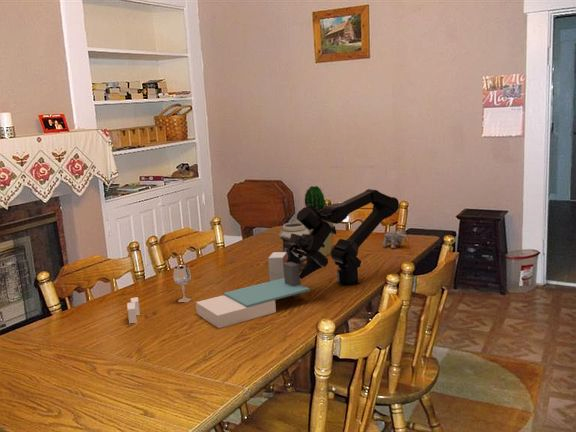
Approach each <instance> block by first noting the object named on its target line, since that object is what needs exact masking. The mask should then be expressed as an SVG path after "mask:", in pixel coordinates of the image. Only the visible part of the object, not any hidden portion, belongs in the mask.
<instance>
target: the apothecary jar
mask: <svg viewBox="0 0 576 432" xmlns="http://www.w3.org/2000/svg"><path fill="white" fill-rule="evenodd" d="M291 233H293V234H296V235H300V236H302V235H303V234H308V235H309V231H308V230H307V229H306V228H305V226H304V225H303V224H302V223H301V222H298V221H297V222H296V221H294V222H287V223H284V224H283V225H282V230H280V232H279V234H278V236H279V238H280V240H282V251H281V252H286V249H285V247H286V245H287V244H288V243H290V242H289V240H290V237H291ZM292 243H293V242H292ZM293 244H294V243H293ZM296 245H297V244H296ZM299 248H300V247H299ZM304 254H305V253H304ZM287 259H288V255H287ZM300 260H301V261H300V262H299V263H298V264H299V269H300V272H302V270H303V268H304V267H305V265H306V263H304V262H307V257H305V256H303V257H302V258H300Z"/></svg>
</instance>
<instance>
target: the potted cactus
mask: <svg viewBox="0 0 576 432" xmlns="http://www.w3.org/2000/svg"><path fill="white" fill-rule="evenodd" d="M323 191H324V188H323V189H322V188H321V187H320V186H319V185H313V186H312V185H309V187H308V188H307V189H306V190H305V193H304V198H303V203H304V206H305V207H307V205H308V204H309V205H312V206H313V207H314V208H315V209H316V210H317V211H319V210H322V209H323V207H325V206H327V203H326V200H325V198H326V197H327V196H324V192H323ZM321 220H322V221H323V222H326V221H324V220H323V219H321ZM297 222H299V221H298V220H297ZM327 223H329V224H330V225H331V226H334V224H335V223H330V222H327ZM305 228H306V227H305ZM306 229H307V228H306ZM307 230H308V231H309V234H310V233H311V231H312V230H313V229H311V230H309V229H307ZM333 235H334V234H332V233H330V234H329V236H328V237H327V239H326V240H325V242H324V243H323V244H324V245H325V246H324V248H322V247H321V248H320V250H319V252H321V253H322V254H323V255H324V256H325V257H326V256H329V255H331V251H332V247H333V245H332V243H333Z"/></svg>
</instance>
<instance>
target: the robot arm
mask: <svg viewBox="0 0 576 432" xmlns="http://www.w3.org/2000/svg"><path fill="white" fill-rule="evenodd" d="M369 204H371V205H373V206H372V211H371V213H370V214H369V215H368V216H367V217H366V218H365V219H364V220H363V221H362V222H361V224H360V225H359V226H358V227H357V228H356V229H355V231H354V232H353V233H352V234H351V235H350V236H348V238H347V239H343V238H340V239H338V240H337V242H336V244H334V245H332V247H333V248H331V253H330V255H331V259H332V260H333V262H334V264H335V265H336V266H337V267H338V268H337V270H336V277H337V278H336V280H337V281H336V282H338V283H339V284H340V285H341V286H342V287H345V286H352V285H359V284H361V282H360V281H359V277H358V276H359V274H358V273H359V271H358V270H359V269H358V268H361V266H362V260H360V259H359V257H357V256H358V254H359V249H360V247H361V245H362V244H363V243H364V242H365V241H366V240H367V238H368V237H369V236H370V235H371V234H372V233H373V232H374V231H375V230H376V228H377V227H378V226H379V225H380V224H381V223H382V222H383V220H385V219H387V218H391V217H392V216H393V215H394V214H396V213H397V212H398V211H399V209H400V203H399V199H398V198H397V197H394V196H389V195H386V194H385V193H382V192H380V191H379V190H377V189H371V188H369V189H366V190H364V191H363V192H361V193H359V194H356V195H355V196H353V197H351V198H349V199H346V200H344V201H343V202H337V203H332V204H328V205H327V204H326V205H325V206H324V207H323V209H322V210H319V211H317V210H316V209H315V208H314V207H313V206H312V205H309V204H308V205H307V207H306V206H304V207H303V208H302V209H300V210H299V211H298V212H297V215H296V220H297V222H298V221H299V222H301V223H302V224H303V225H304V226H305V227H306V228H307V229H309V230H311V229H313V230H312V231H311V233H310V234H309V235H308V234H303V235H302V236H300V235H296V234H293V233H291V237H290V240H289V242H290V243H288V244H287V245H286V247H285V249H286V252H287V255H288V259H287V263H288V262H293V263H296V264H298V263H299V262H300V261H301V260H300V258H302V257H303V256H305V257H307V260H306V263H305V264H306V265H305V267H304V268H303V270H302V271H300V276H299V278H300V280H302V279H305V278H306V277H308V276H309V275H311V274H312V273H314V272H317V270H319V269H322V268H326V267H327V265H328V263H329V259H328V257H326V256H324V255H323V254H322V253H321V252H319V250H320V248H321V247H322V248H324V246H325V245H324V244H323V243H324V242H325V240H326V239H327V237H328V236H329V234H330V233H332V234H333V235H337V229H336V226H335V225H337V224H340V223H342V222H343V221H344V220H346V219H347V217H348V216H349V215H350V214H351V213H353V212H355V211H357V210H359V209H361V208H363V207H365V206H367V205H369ZM321 219H323V220H324V221H326V222H323V221H322V220H321ZM327 222H330V223H334V224H335V225H333V226H331V225H330V224H329V223H327ZM292 242H293V243H294V244H293V243H292ZM296 244H297V245H296ZM299 247H300V248H299ZM304 253H305V254H304Z"/></svg>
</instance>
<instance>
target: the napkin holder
mask: <svg viewBox="0 0 576 432" xmlns="http://www.w3.org/2000/svg"><path fill="white" fill-rule="evenodd" d="M126 304H127V305H126V306H127V316H128V317H127V318H128V323H129V324H128V325H131V324H130V323H136V324H137V323H138V320H137V318H138V317H136V315H140V316H141V312H140V310H141V309H140V303H139V297H137V296H136V297H131V298H130V302H126Z"/></svg>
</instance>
